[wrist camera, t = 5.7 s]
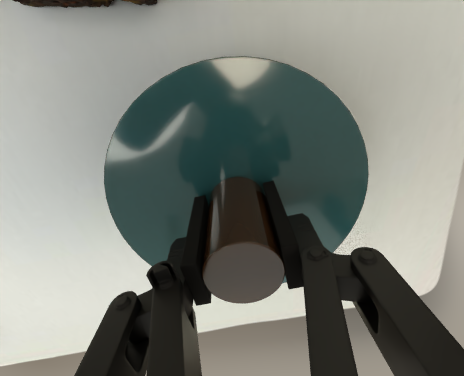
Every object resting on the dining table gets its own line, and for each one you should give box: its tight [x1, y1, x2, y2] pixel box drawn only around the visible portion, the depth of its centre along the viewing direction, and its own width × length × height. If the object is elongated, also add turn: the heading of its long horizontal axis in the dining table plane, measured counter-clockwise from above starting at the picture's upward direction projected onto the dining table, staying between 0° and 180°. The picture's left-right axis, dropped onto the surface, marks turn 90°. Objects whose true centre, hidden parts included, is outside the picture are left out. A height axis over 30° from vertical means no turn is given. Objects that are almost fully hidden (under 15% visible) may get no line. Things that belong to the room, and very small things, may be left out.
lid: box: [104, 56, 368, 303], centre depth 16 cm, size 19×19×8 cm
